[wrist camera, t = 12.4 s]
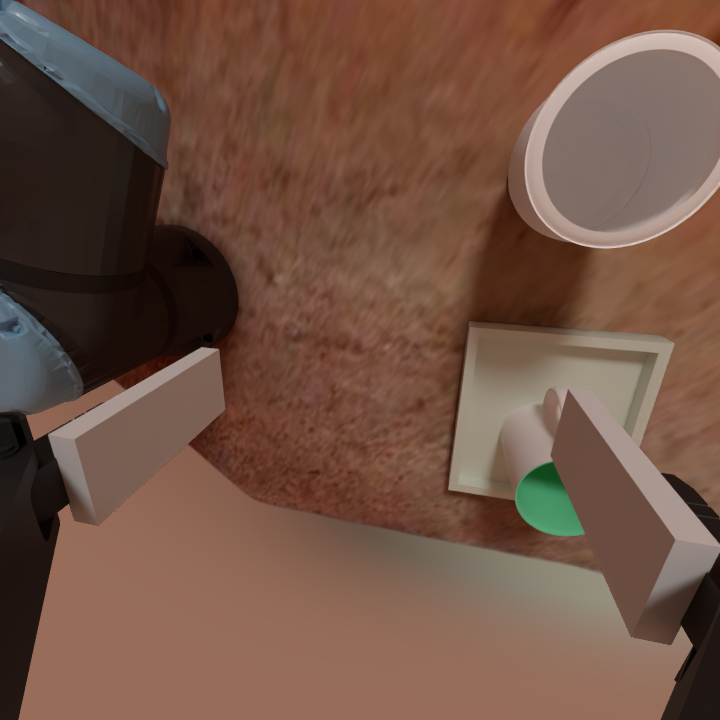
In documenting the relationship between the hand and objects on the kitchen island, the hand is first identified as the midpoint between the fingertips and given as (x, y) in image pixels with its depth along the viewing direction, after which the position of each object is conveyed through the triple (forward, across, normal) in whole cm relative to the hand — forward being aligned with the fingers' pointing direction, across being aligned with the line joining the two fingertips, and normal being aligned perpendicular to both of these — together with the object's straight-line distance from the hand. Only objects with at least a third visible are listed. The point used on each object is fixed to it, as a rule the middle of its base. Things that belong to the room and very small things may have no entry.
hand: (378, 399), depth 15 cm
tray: (+28, +15, -14) cm, 34 cm away
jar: (+28, +11, +10) cm, 32 cm away
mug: (+27, +15, -14) cm, 34 cm away
